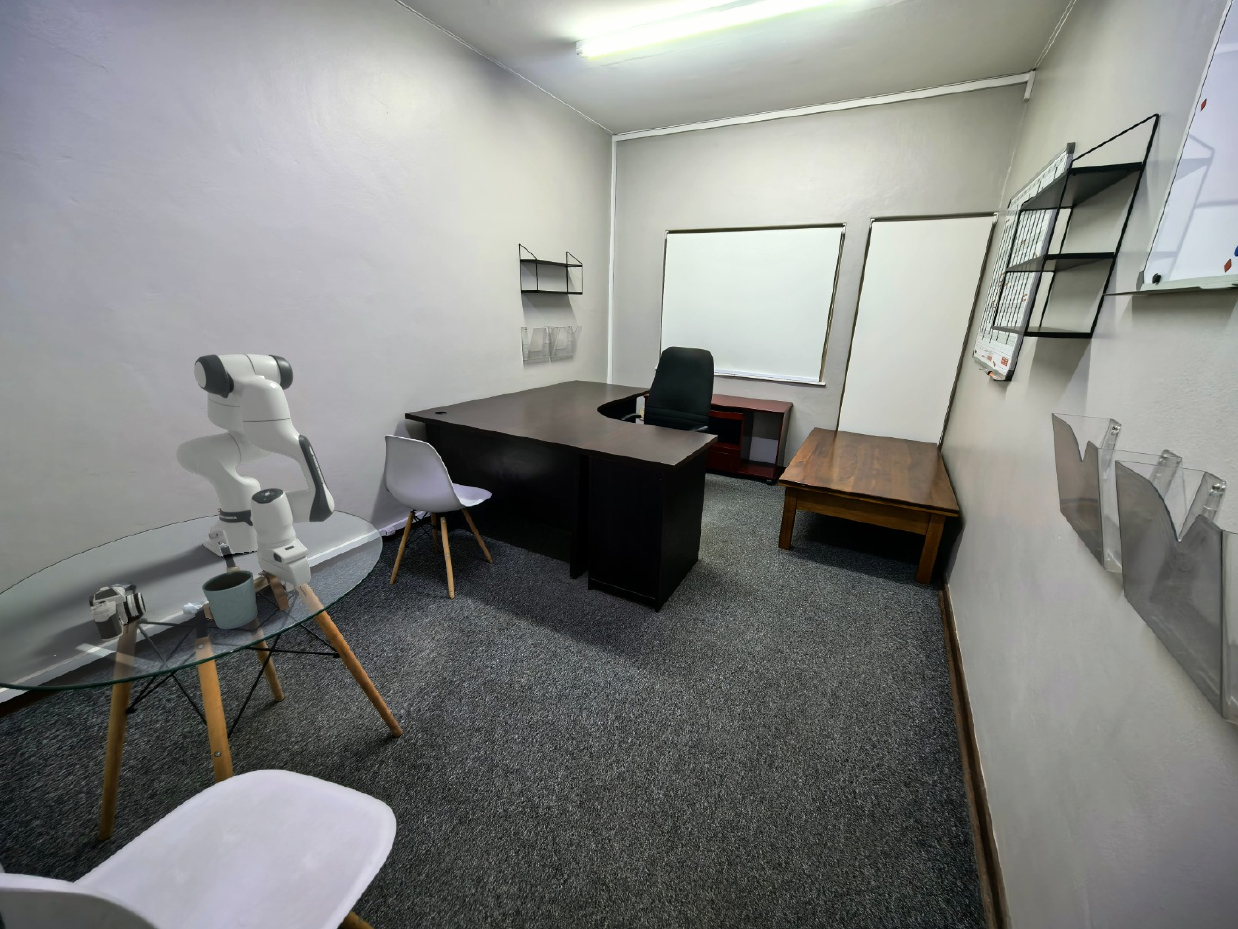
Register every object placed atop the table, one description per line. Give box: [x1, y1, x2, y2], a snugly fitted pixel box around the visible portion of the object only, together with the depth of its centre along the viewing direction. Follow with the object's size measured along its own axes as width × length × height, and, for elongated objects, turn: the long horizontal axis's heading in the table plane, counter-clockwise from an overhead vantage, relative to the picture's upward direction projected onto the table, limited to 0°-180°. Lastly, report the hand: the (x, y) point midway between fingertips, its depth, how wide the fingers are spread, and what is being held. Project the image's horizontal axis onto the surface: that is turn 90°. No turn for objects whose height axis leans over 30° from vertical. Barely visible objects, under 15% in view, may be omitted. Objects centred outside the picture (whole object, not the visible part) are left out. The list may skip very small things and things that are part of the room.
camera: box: [88, 586, 147, 642], centre depth 117 cm, size 16×9×10 cm, turn 46°
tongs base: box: [202, 570, 270, 620], centre depth 129 cm, size 20×4×6 cm, turn 166°
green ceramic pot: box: [201, 569, 259, 630], centre depth 119 cm, size 10×10×12 cm
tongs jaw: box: [268, 573, 290, 612], centre depth 131 cm, size 20×2×6 cm, turn 44°
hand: (288, 589), depth 131 cm, fingers closed
